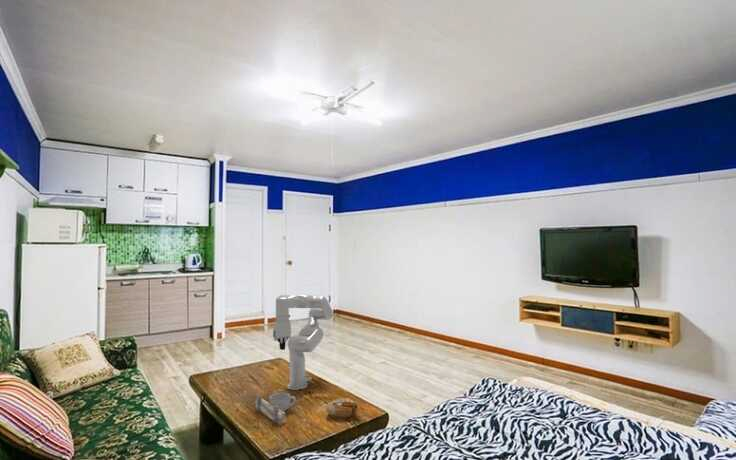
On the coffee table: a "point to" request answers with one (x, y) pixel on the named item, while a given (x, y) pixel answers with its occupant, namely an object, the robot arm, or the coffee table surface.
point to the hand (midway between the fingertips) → (282, 349)
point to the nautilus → (343, 408)
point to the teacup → (282, 400)
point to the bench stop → (270, 410)
